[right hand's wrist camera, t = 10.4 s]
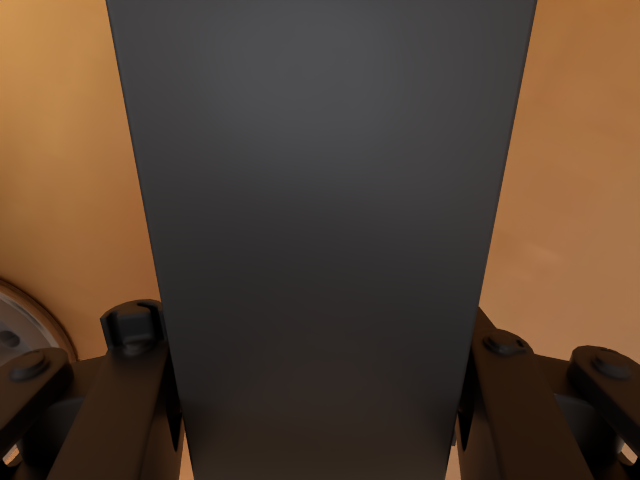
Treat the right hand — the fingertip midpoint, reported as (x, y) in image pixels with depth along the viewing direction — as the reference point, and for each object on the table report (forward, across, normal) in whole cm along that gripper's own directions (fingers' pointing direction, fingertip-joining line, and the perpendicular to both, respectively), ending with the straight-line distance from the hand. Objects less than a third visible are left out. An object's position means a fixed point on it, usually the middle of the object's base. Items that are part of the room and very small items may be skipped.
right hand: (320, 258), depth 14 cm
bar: (+1, 0, -9) cm, 9 cm away
